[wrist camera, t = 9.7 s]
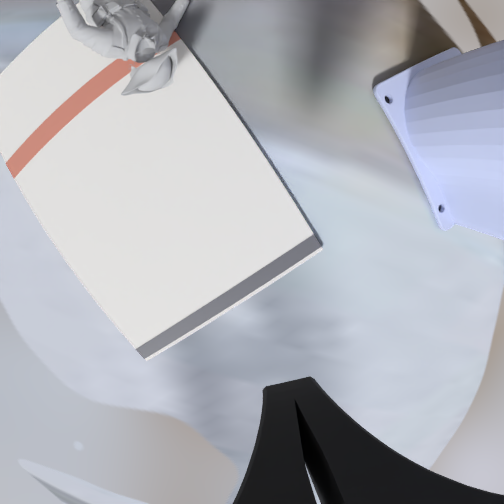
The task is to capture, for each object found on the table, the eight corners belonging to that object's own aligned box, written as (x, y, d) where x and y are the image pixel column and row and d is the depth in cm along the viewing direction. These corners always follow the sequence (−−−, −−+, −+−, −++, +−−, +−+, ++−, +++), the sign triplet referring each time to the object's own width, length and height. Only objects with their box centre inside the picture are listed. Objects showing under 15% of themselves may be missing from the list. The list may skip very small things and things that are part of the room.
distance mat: (322, 248, 17) (323, 249, 17) (147, 359, 18) (146, 361, 18) (126, -28, 12) (125, -30, 12) (-21, 101, 13) (-23, 101, 13)
